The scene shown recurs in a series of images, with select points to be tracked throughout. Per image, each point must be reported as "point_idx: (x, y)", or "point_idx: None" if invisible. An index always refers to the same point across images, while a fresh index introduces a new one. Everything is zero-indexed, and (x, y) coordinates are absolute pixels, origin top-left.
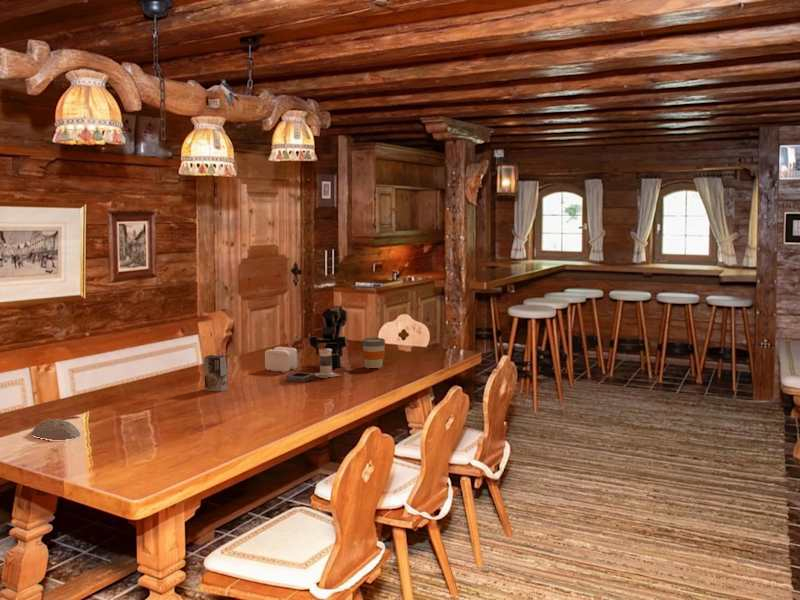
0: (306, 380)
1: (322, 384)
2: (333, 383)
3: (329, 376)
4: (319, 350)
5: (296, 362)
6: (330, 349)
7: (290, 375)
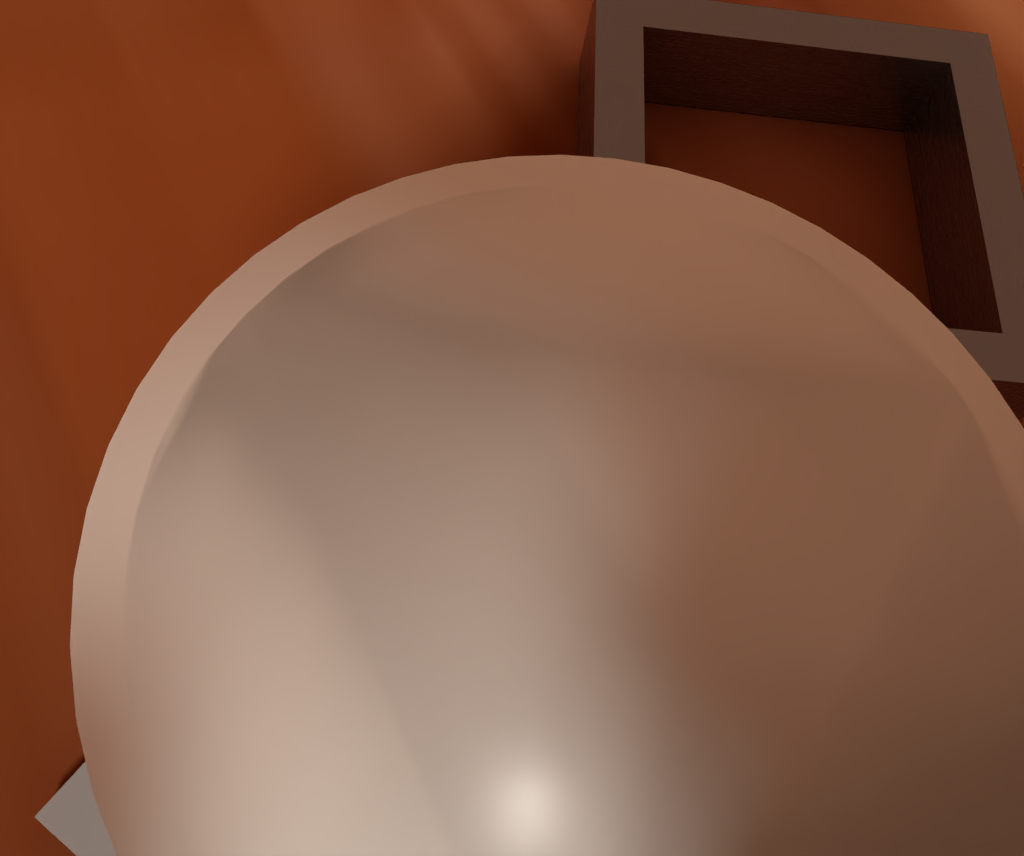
0: (582, 94)
1: (209, 10)
2: (23, 108)
3: None
4: (861, 277)
5: None
6: (200, 644)
7: (954, 89)
